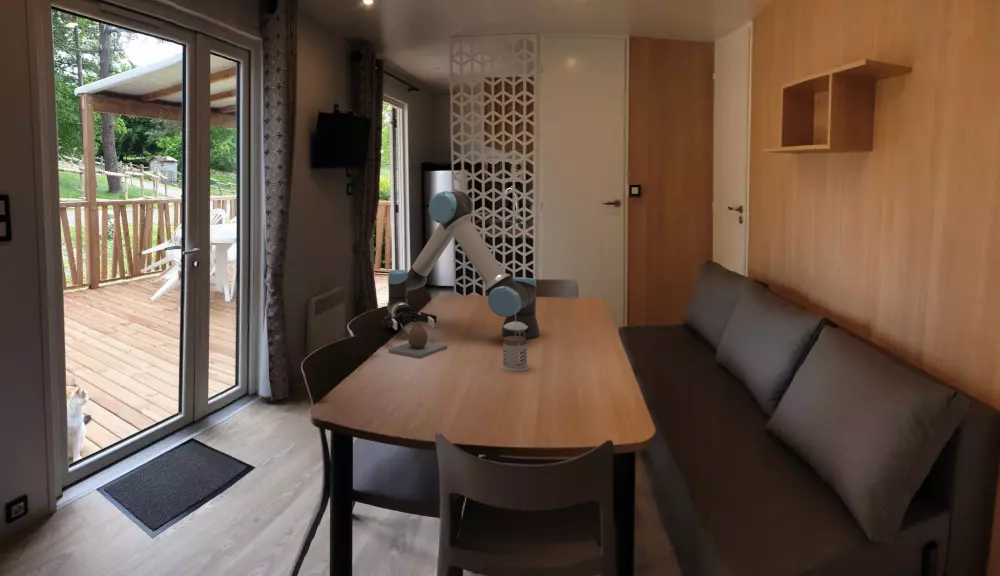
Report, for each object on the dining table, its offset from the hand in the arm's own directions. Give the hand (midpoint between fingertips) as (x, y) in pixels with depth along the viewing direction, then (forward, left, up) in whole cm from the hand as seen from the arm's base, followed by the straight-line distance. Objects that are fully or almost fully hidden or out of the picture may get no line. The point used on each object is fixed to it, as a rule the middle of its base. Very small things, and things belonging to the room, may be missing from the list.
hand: (414, 324), depth 234 cm
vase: (-3, +2, -8) cm, 8 cm away
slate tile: (-3, +2, -9) cm, 9 cm away
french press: (-42, 0, -9) cm, 43 cm away
